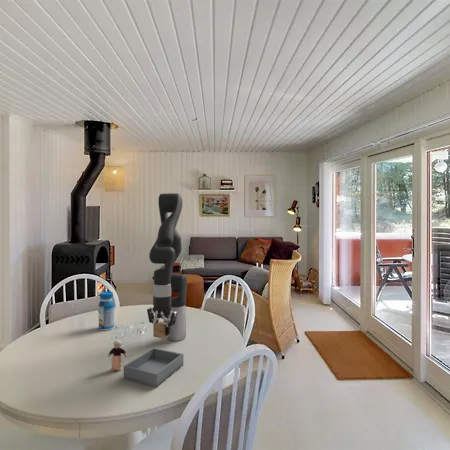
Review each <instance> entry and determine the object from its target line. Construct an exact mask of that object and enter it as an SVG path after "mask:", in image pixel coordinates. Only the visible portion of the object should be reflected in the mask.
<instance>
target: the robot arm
mask: <svg viewBox="0 0 450 450" xmlns="http://www.w3.org/2000/svg"><path fill="white" fill-rule="evenodd" d="M157 202H158V210H159V217H160V226H159V228H158V232H157V237H156V240H155V241H154V244H153V245H152V247H151V249H150V251H149V256H148V257H149V261H150V262H151V263H152V264H155V265H157V264H160V265H162V264H163V265H164V267H163V268H159V269H156V270H154V272H153V286H152V287H153V288H152V307H149V308H147V309H146V311H147V318H148V323H150V324H151V323H152V325H154V324H156V323H158V322H160V319H161V320H162V322H165V325H166V329H165V335H166V336H167V340H170V341H173V342H174V341H176V342H179V341H183V340H185V339H186V336H187V317H186V316H187V315H186V313H187V312H186V311H187V308H186V307H187V305H186V304H187V288H188V287H187V286H188V278H187V276H186V275H185V274H184V273H173V269H174V266H175V263H176V262H177V260H178V258H179V257H180V255H181V252H182V249H183V248H182V237H181V235H180V233H179V232H178V230H177V229H176V228H177V224H178V221H179V218H180V215H181V213H182V211H183V210H182V208H183V197H182V195H181V194H180V193H178V192H177V193H175V192H174V193H173V192H172V193H170V192H169V193H160V194H159V196H158V201H157ZM169 213H171V214H170V215H169ZM172 293H177V294H178V295H176V296H173V297H172ZM169 334H170V335H169ZM168 335H169V336H168Z"/></svg>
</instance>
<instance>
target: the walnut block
mask: <svg viewBox="0 0 450 450" xmlns="http://www.w3.org/2000/svg"><path fill="white" fill-rule="evenodd" d="M152 325H153V324H152ZM152 328H153V331H152V333H153V337H154V338H159V339H165V338H168V336H169V335H170V334H169V335H168V336H166V335H165V329H166V325H165V322H164V321H163V320H162V321H160V320H159V322H158V323H156V324H154V325H153V327H152Z"/></svg>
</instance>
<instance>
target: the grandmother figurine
mask: <svg viewBox="0 0 450 450" xmlns="http://www.w3.org/2000/svg"><path fill="white" fill-rule="evenodd" d="M121 346H122V341H121V340H120V339H114V340H113V348H111V350H110V351H109V352H108V355H107V357H108V358H111V356H112V359H111V361H112V362H111V368H110V370H109V371H111V372H114V371H117V372H121V371H122V362H123V361H122V358H123V357H122V354H123V356H124V357H125V358H127V357H128V354H127V352H126V350H125V349H124V348H121Z"/></svg>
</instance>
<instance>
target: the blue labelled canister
mask: <svg viewBox="0 0 450 450" xmlns="http://www.w3.org/2000/svg"><path fill="white" fill-rule="evenodd" d="M113 294H114V292H113V291H108V290H107V291H101V292H100V293H99V302H98V310H97V312H98V330H99V331H110V330H113V329H114V328H115V307H114V306H115V301H114V300H113V298H114V295H113ZM113 327H114V328H113ZM112 328H113V329H112Z"/></svg>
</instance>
